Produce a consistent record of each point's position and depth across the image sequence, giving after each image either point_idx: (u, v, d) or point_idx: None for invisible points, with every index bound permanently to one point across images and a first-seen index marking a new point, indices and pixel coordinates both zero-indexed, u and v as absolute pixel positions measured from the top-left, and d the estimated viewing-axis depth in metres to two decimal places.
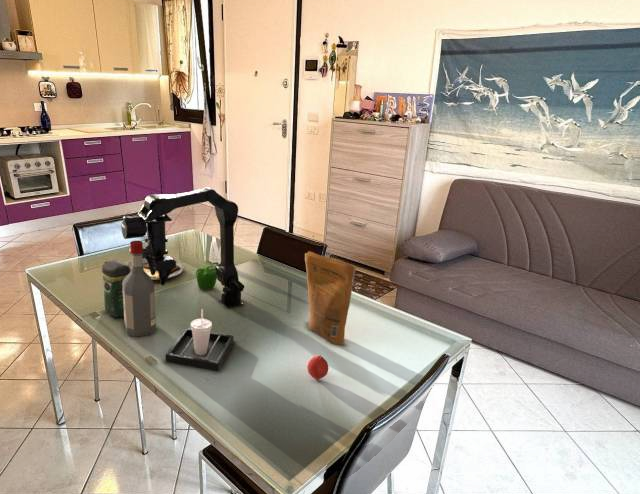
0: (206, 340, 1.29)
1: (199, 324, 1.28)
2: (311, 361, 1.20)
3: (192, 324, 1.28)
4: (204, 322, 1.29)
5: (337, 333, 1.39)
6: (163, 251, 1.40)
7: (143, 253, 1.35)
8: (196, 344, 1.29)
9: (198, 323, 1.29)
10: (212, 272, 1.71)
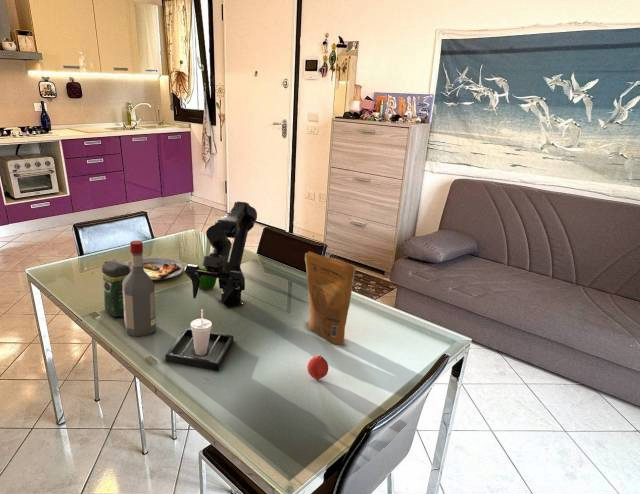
0: (206, 340, 1.29)
1: (199, 324, 1.28)
2: (311, 361, 1.20)
3: (192, 324, 1.28)
4: (204, 322, 1.29)
5: (337, 333, 1.39)
6: None
7: (226, 260, 1.34)
8: (196, 344, 1.29)
9: (198, 323, 1.29)
10: None
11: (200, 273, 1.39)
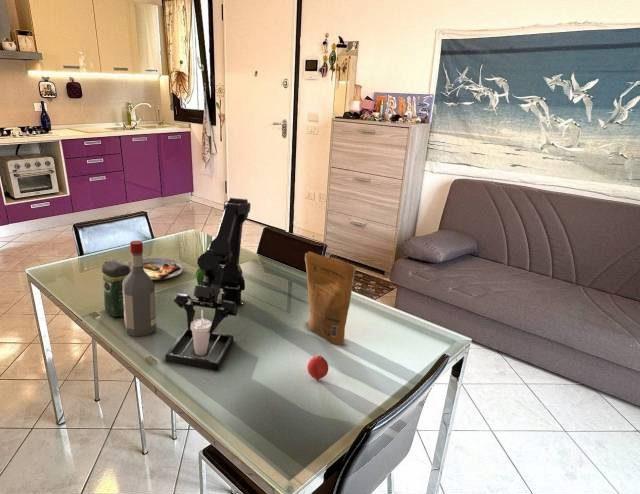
0: (206, 340, 1.29)
1: (199, 324, 1.28)
2: (311, 361, 1.20)
3: (192, 324, 1.28)
4: (204, 322, 1.29)
5: (337, 333, 1.39)
6: None
7: (218, 290, 1.27)
8: (196, 344, 1.29)
9: (198, 323, 1.29)
10: None
11: None
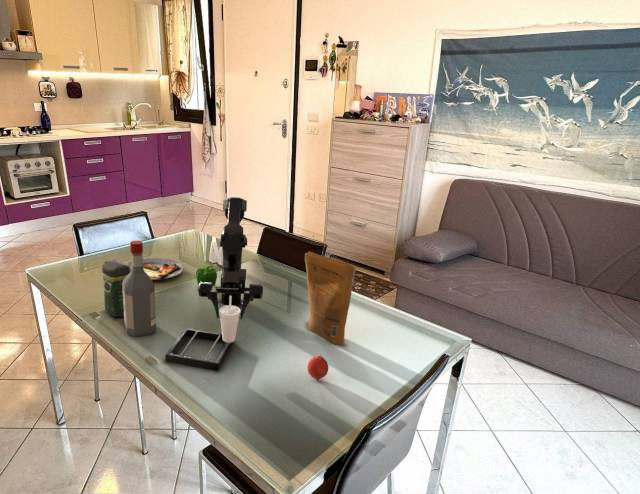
0: (236, 326, 1.26)
1: (229, 311, 1.25)
2: (311, 361, 1.20)
3: (221, 312, 1.25)
4: (232, 308, 1.26)
5: (337, 333, 1.39)
6: None
7: None
8: (226, 332, 1.26)
9: (227, 310, 1.25)
10: (212, 272, 1.71)
11: None
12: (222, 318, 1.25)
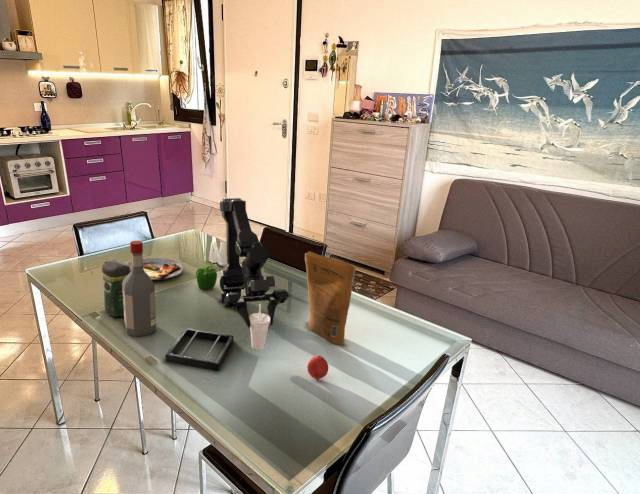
0: (266, 333, 1.28)
1: (260, 319, 1.26)
2: (311, 361, 1.20)
3: (253, 320, 1.26)
4: (261, 316, 1.28)
5: (337, 333, 1.39)
6: None
7: None
8: (258, 339, 1.27)
9: (257, 318, 1.27)
10: (212, 272, 1.71)
11: None
12: (254, 327, 1.26)
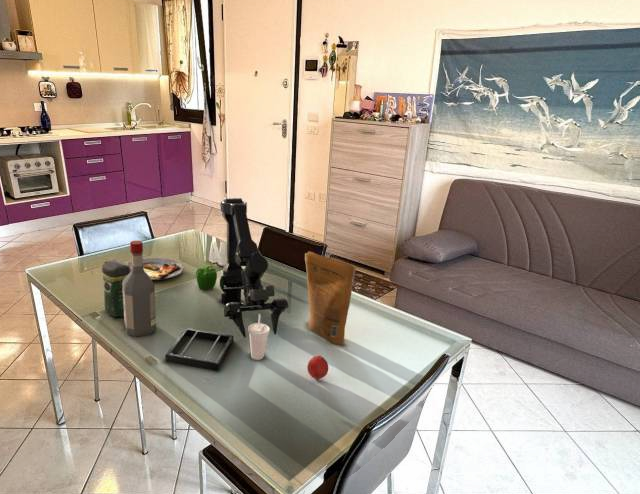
0: None
1: (259, 329, 1.27)
2: (311, 361, 1.20)
3: (252, 330, 1.27)
4: (261, 326, 1.29)
5: (337, 333, 1.39)
6: None
7: None
8: (257, 349, 1.28)
9: (257, 328, 1.28)
10: (212, 272, 1.71)
11: (241, 309, 1.29)
12: (254, 337, 1.27)
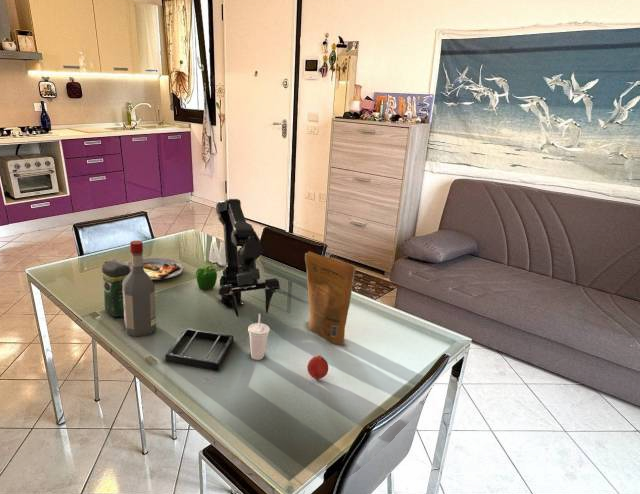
0: None
1: (259, 329, 1.27)
2: (311, 361, 1.20)
3: (252, 330, 1.27)
4: (261, 326, 1.29)
5: (337, 333, 1.39)
6: None
7: (259, 273, 1.32)
8: (257, 349, 1.28)
9: (257, 328, 1.28)
10: (212, 272, 1.71)
11: (234, 290, 1.37)
12: (254, 337, 1.27)
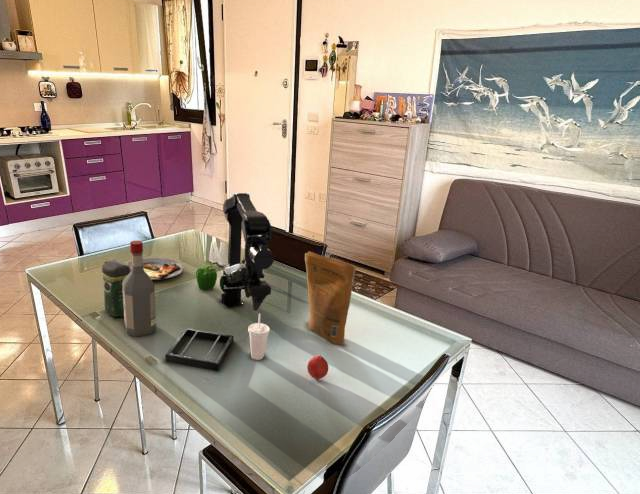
0: None
1: (259, 329, 1.27)
2: (311, 361, 1.20)
3: (252, 330, 1.27)
4: (261, 326, 1.29)
5: (337, 333, 1.39)
6: (259, 274, 1.30)
7: (238, 275, 1.26)
8: (257, 349, 1.28)
9: (257, 328, 1.28)
10: (212, 272, 1.71)
11: None
12: (254, 337, 1.27)
